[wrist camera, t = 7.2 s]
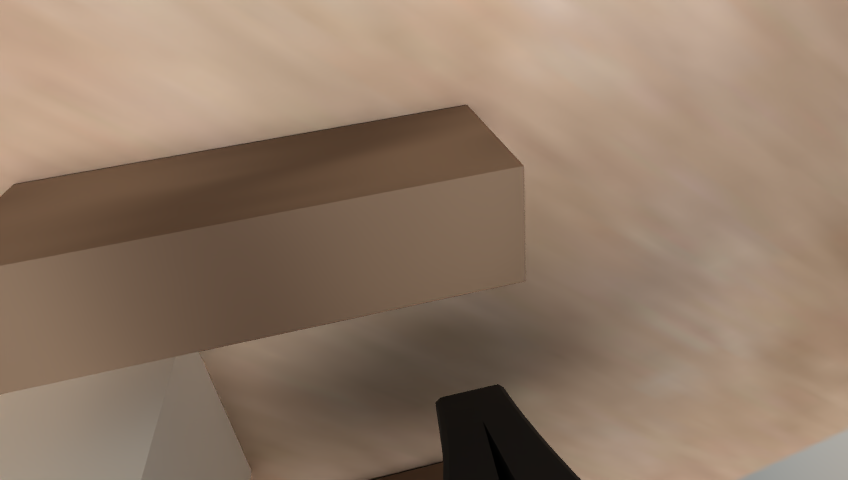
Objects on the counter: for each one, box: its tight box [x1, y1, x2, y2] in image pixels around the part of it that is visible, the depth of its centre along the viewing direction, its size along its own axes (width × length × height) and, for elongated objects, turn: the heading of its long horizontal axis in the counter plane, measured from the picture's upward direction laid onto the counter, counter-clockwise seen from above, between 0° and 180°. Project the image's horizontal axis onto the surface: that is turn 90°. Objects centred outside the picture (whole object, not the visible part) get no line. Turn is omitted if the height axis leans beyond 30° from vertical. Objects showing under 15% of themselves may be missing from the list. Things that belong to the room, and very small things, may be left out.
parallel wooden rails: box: [0, 105, 526, 480], centre depth 12 cm, size 8×12×3 cm, turn 7°
